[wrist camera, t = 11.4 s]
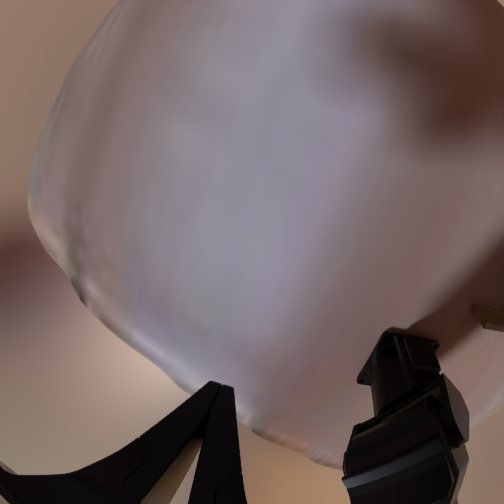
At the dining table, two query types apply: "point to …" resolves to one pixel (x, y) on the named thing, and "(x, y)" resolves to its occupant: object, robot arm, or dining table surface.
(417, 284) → the dining table surface
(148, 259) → the dining table surface
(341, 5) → the dining table surface
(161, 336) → the dining table surface
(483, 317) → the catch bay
